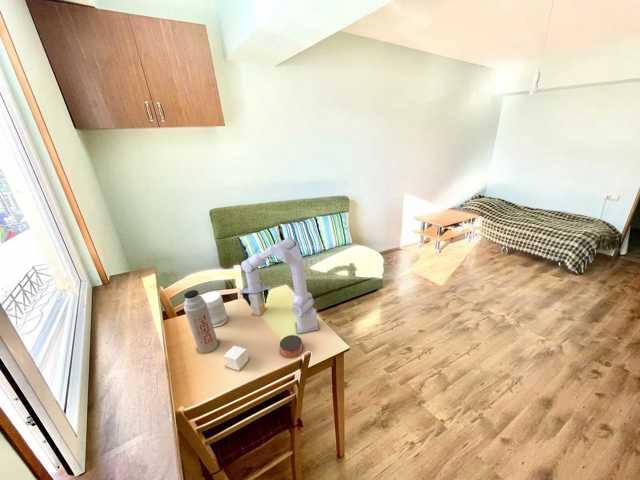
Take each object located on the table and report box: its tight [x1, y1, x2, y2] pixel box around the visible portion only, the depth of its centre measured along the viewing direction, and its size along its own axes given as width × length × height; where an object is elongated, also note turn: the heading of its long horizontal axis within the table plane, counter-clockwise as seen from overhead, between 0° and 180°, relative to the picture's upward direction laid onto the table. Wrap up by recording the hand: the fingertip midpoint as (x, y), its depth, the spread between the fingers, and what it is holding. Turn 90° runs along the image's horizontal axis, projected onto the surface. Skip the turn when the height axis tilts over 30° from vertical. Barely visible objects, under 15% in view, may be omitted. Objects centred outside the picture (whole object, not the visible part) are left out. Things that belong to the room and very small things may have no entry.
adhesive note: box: [223, 345, 249, 372], centre depth 112 cm, size 6×6×6 cm
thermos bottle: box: [183, 289, 219, 354], centre depth 116 cm, size 8×8×28 cm
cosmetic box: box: [249, 291, 266, 316], centre depth 141 cm, size 6×4×12 cm
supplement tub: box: [200, 291, 229, 328], centre depth 134 cm, size 10×10×15 cm
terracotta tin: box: [279, 334, 303, 358], centre depth 119 cm, size 9×9×4 cm
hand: (257, 303), depth 142 cm, fingers open, 7 cm apart
